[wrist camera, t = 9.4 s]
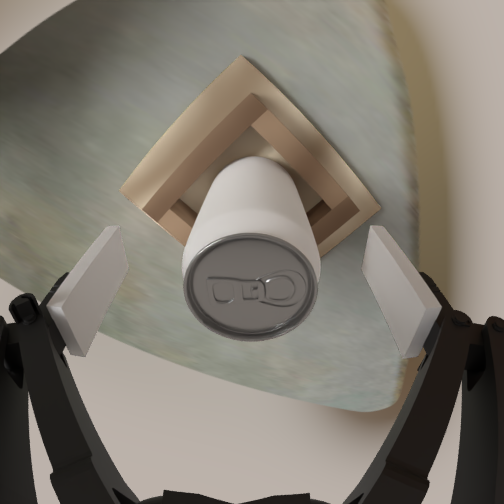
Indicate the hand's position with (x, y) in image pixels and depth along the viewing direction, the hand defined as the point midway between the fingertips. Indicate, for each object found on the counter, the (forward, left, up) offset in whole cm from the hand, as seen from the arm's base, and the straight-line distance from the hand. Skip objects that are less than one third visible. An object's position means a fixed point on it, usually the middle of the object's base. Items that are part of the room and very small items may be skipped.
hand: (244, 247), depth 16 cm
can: (+1, 0, -9) cm, 9 cm away
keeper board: (0, 0, -9) cm, 9 cm away
